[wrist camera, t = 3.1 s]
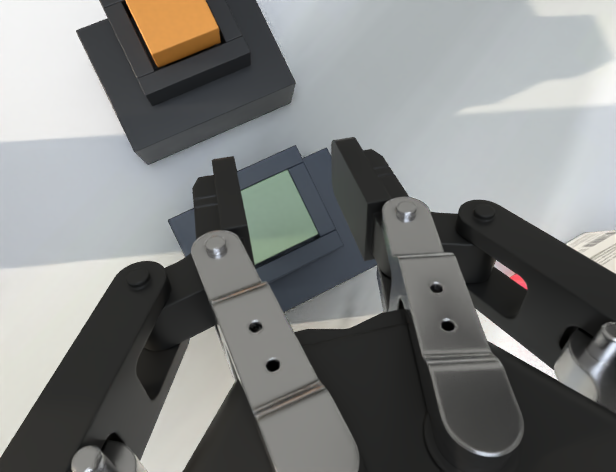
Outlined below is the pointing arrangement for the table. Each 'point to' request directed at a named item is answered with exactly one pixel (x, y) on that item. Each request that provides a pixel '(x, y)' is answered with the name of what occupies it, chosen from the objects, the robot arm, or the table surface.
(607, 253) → the ink box
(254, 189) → the sage key
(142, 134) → the charcoal button base
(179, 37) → the amber key
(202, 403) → the table surface
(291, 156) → the slate blue button base
